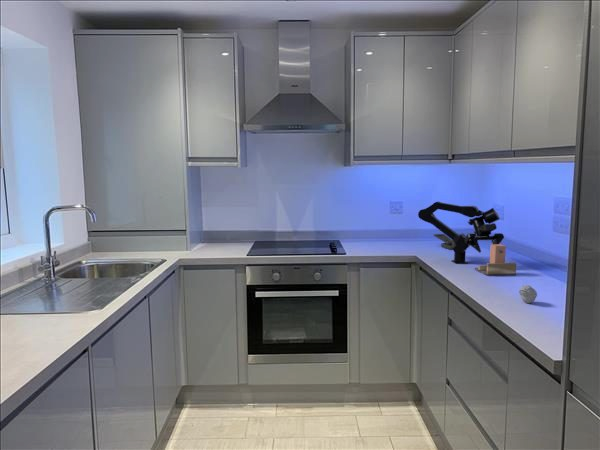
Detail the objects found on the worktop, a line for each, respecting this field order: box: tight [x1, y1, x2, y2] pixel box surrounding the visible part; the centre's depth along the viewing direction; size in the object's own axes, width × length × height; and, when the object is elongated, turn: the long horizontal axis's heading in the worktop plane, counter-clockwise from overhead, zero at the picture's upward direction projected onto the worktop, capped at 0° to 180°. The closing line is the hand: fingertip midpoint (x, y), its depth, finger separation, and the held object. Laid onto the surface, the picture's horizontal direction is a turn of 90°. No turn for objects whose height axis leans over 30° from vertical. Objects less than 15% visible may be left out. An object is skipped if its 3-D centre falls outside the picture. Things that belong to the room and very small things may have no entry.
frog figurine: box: [518, 284, 538, 304], centre depth 174 cm, size 6×7×7 cm
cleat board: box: [474, 262, 517, 277], centre depth 223 cm, size 13×14×6 cm
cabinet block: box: [489, 243, 507, 263], centre depth 220 cm, size 6×5×13 cm
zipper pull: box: [433, 233, 456, 251], centre depth 294 cm, size 9×7×25 cm
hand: (489, 252), depth 228 cm, fingers open, 9 cm apart
